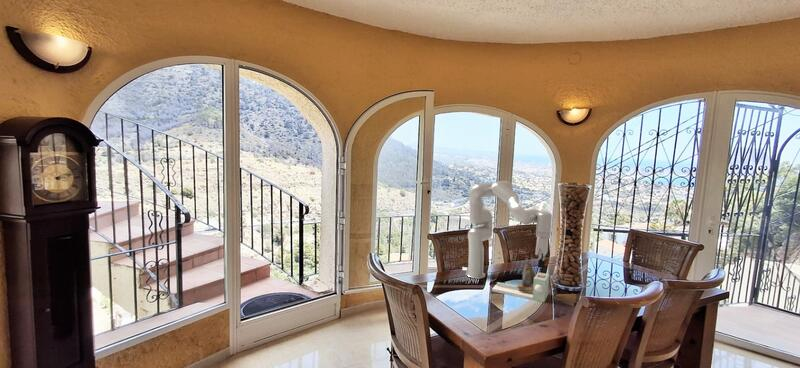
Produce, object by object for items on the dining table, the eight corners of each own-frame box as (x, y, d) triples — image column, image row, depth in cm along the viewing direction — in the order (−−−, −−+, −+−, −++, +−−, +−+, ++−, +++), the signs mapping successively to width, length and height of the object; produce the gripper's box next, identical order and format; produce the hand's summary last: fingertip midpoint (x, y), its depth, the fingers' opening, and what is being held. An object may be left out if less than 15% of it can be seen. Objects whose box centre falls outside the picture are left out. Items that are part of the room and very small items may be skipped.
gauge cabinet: (532, 299, 207) (533, 278, 206) (536, 292, 218) (538, 272, 216) (544, 302, 204) (545, 280, 203) (548, 294, 215) (549, 274, 213)
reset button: (538, 281, 209) (538, 275, 209) (539, 279, 212) (539, 274, 212) (543, 282, 208) (543, 276, 208) (544, 280, 210) (544, 275, 210)
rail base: (492, 291, 219) (492, 285, 218) (498, 284, 229) (498, 279, 229) (532, 299, 207) (532, 293, 207) (536, 292, 218) (537, 286, 217)
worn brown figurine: (527, 290, 227) (524, 263, 223) (520, 287, 232) (517, 260, 228) (540, 283, 233) (538, 256, 229) (533, 280, 238) (530, 253, 234)
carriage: (517, 291, 214) (518, 273, 213) (519, 287, 219) (520, 270, 218) (531, 294, 210) (532, 276, 209) (534, 290, 215) (535, 273, 214)
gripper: (538, 230, 216) (536, 262, 218) (533, 236, 203) (531, 269, 205) (552, 232, 212) (550, 264, 214) (548, 238, 199) (545, 272, 201)
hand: (541, 267), depth 209 cm, fingers closed
